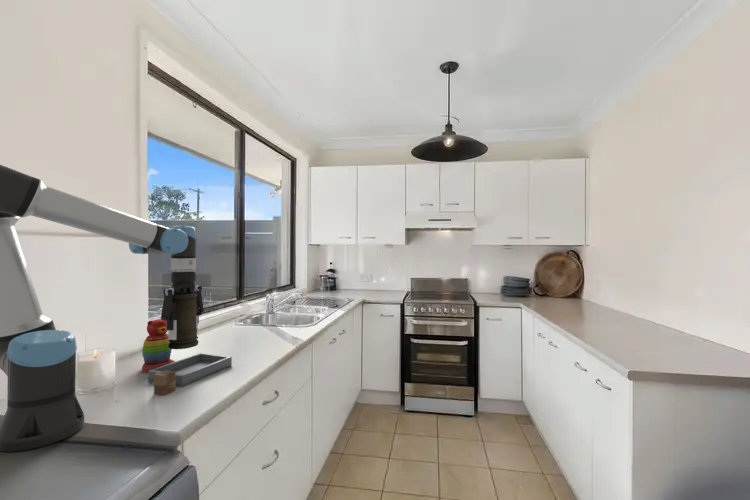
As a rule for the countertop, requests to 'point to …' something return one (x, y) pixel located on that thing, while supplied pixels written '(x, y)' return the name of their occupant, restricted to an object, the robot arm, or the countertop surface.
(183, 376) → the tray
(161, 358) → the stacking bear
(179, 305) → the container
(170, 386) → the walnut block
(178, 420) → the countertop surface
